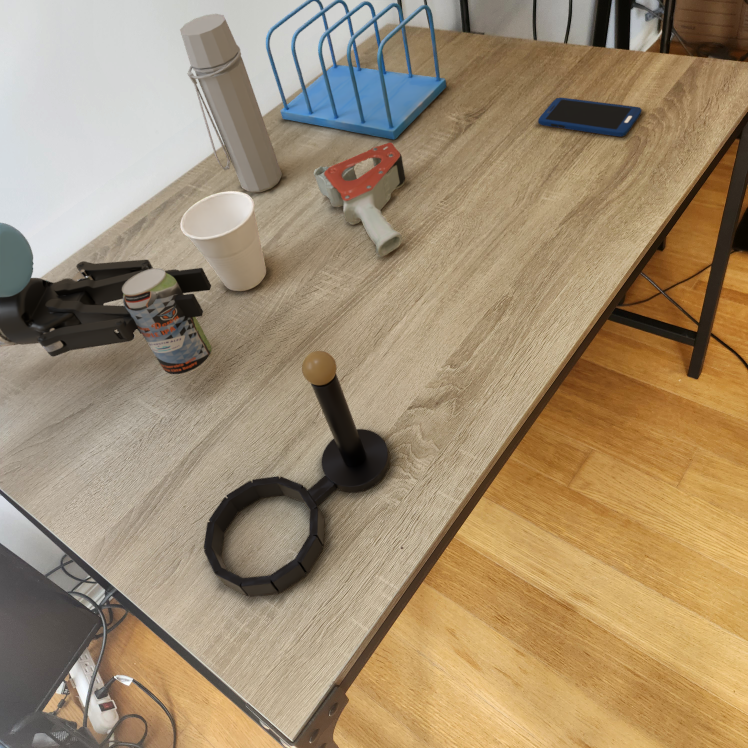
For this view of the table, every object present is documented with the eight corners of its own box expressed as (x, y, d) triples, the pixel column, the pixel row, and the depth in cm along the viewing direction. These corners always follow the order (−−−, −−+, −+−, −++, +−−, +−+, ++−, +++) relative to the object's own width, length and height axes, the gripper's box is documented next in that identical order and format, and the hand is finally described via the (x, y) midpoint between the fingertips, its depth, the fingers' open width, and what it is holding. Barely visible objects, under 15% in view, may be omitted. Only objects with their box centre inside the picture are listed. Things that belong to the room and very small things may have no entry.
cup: (256, 245, 96) (229, 181, 87) (293, 273, 90) (268, 208, 81) (200, 281, 93) (167, 219, 84) (234, 313, 87) (202, 249, 78)
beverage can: (161, 383, 76) (96, 310, 67) (187, 336, 80) (130, 263, 72) (203, 382, 73) (142, 307, 65) (229, 334, 77) (174, 258, 69)
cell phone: (624, 137, 95) (625, 133, 94) (536, 124, 102) (536, 120, 101) (643, 112, 98) (643, 107, 98) (556, 101, 105) (556, 96, 104)
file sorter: (282, 120, 119) (254, 34, 107) (336, 74, 127) (316, -11, 115) (395, 141, 107) (378, 46, 95) (447, 88, 115) (437, -5, 103)
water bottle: (271, 163, 110) (216, 7, 91) (292, 181, 105) (238, 20, 86) (223, 187, 108) (157, 33, 89) (242, 207, 103) (176, 48, 84)
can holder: (192, 568, 63) (105, 479, 51) (299, 412, 73) (249, 305, 61) (301, 624, 58) (234, 539, 45) (401, 446, 68) (369, 337, 55)
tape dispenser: (395, 270, 88) (445, 177, 98) (389, 241, 84) (442, 146, 94) (285, 249, 95) (343, 163, 104) (274, 221, 90) (335, 134, 100)
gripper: (58, 288, 84) (229, 267, 79) (5, 388, 73) (198, 371, 69) (23, 242, 78) (205, 217, 74) (-40, 343, 67) (168, 322, 63)
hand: (201, 291), depth 71 cm, fingers closed on beverage can, 3 cm apart
